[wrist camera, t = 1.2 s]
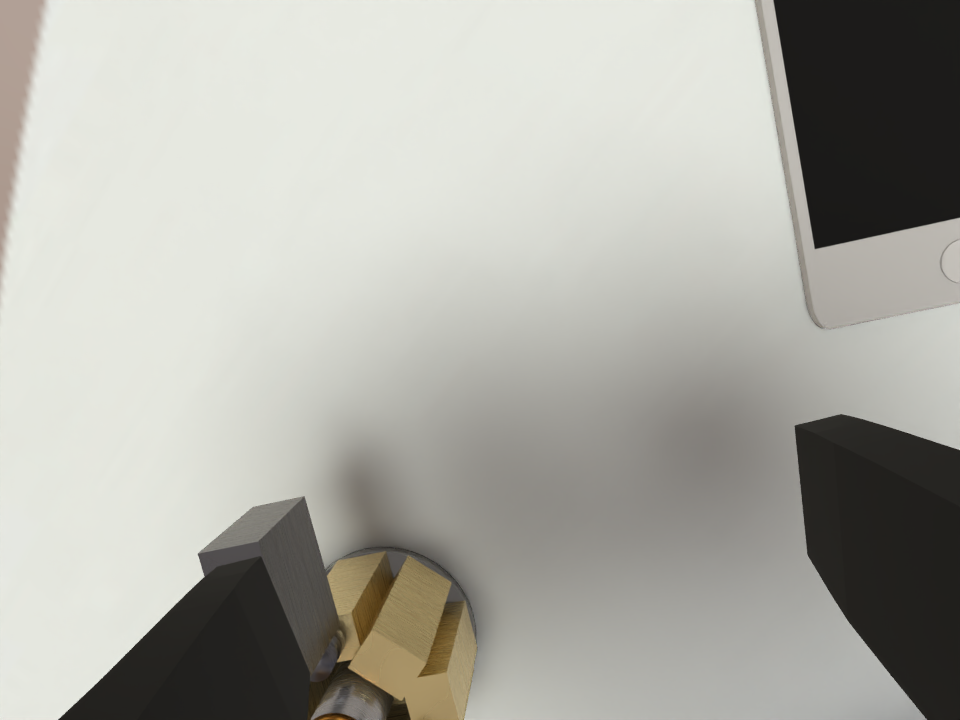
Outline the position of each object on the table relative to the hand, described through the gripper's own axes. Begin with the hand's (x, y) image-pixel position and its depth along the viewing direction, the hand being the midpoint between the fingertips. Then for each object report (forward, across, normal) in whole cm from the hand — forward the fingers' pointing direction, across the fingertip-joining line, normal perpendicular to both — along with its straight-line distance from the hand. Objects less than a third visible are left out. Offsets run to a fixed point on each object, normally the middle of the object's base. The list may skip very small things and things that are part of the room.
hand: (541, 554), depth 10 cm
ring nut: (+9, +5, +6) cm, 12 cm away
